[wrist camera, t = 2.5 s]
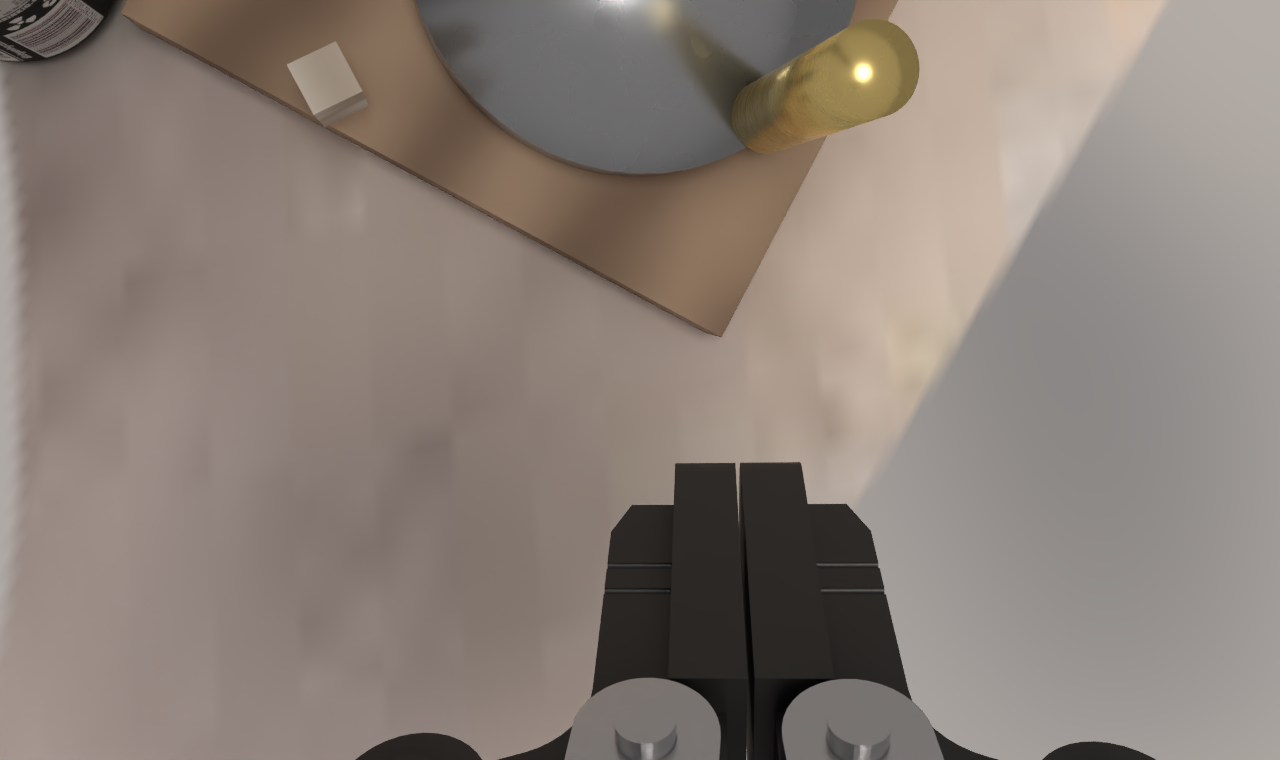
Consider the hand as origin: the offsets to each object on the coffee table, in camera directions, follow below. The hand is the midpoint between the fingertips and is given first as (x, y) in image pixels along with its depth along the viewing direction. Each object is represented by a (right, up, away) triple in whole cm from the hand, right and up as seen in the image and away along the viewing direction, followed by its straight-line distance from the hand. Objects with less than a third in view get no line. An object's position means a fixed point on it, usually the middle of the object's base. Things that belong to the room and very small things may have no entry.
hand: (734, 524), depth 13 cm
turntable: (-4, +17, +24) cm, 30 cm away
